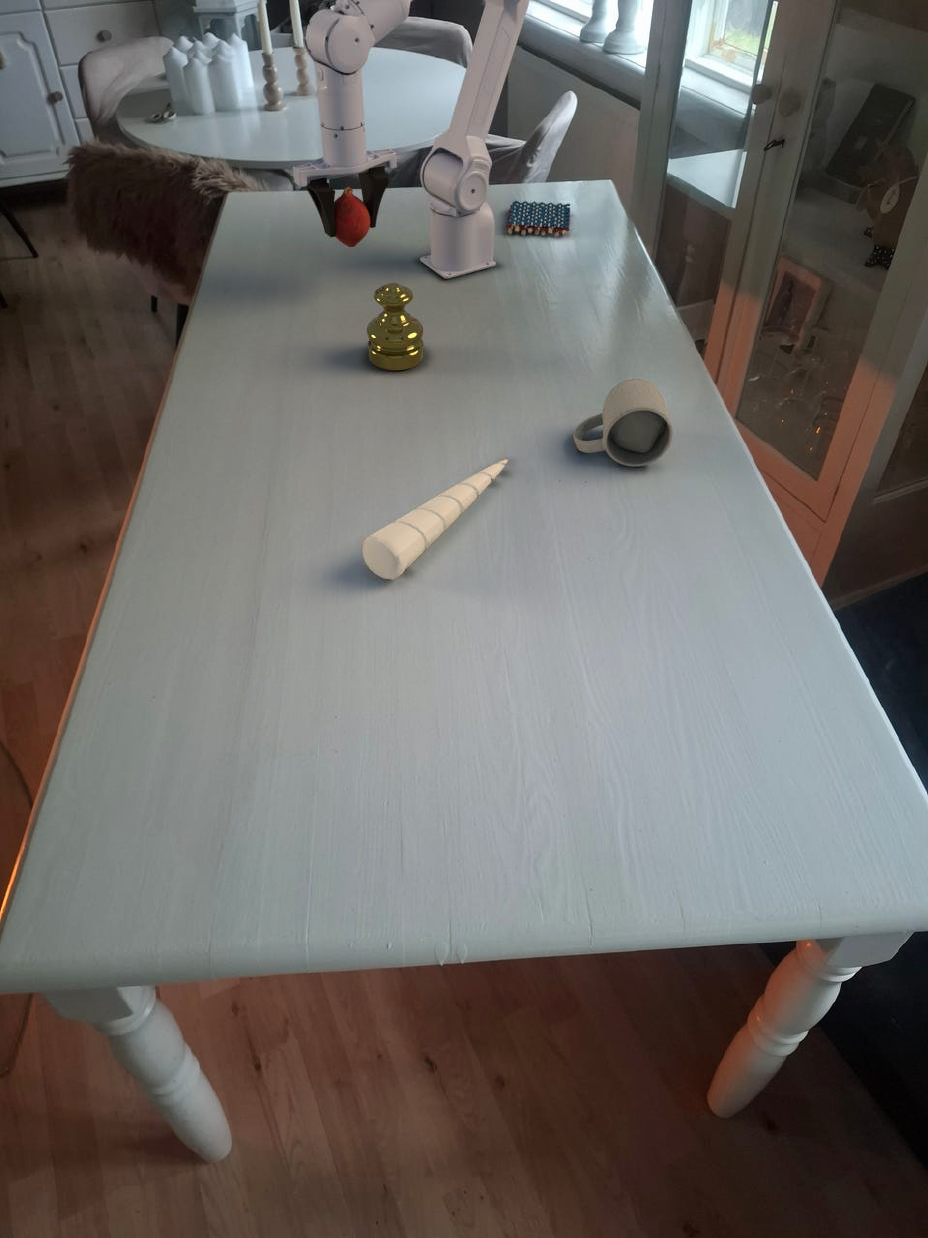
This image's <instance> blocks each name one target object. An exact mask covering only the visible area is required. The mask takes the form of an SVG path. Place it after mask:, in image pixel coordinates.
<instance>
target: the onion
mask: <svg viewBox="0 0 928 1238" xmlns="http://www.w3.org/2000/svg"><path fill="white" fill-rule="evenodd" d="M353 191H354V190H353V188H351V186H348V187H345V188H344V189H343V192H342V194H341V195H339V197H337V198H335V199H334V219H335V228H336V236H335V237H334V238H335V239H337V240H338V241H339V242H340V243H341V244H343V245H345V246H347V247H348V248H354V247H355V248H356V246H357V245H358V244H359V243H360V242H361V241H362V240H364V238H365V237H366V236H367V235H368V233H369V231H370V229H371V227H370V216H369V212H368V209H367V207H366V205H365V204H364V203H363V200H362V199H360V198H359V197H357V196H356V195H354V194H353Z"/></svg>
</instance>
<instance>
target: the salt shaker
mask: <svg viewBox="0 0 928 1238" xmlns="http://www.w3.org/2000/svg"><path fill="white" fill-rule="evenodd" d="M413 298H414V293H413V291H412V289H410V288H409V287H408V286H405V285H403V284H399V283H397V282H389V283H387V284H384V285H382V286H380V287H378V288H376V290H375V291H374V292H373V299H374V301H375V302H376V303H377V304H378V305H381V307H382V308H383V311H382V312H380V313H378V315H377V316H376V317H374V318H373V319H371V320H370V321H369V323H368V324H367V327H366V335H367V338H368V341H367V347H368V358H369V361H370V362H371V363H372V365H373V366H375V367H377V368H379V369H382V370H385V371H394V372H395V371H396V372H397V371H404V370H410V369H412V368H414V367H417V366H418V365H419V364H420V363H421V362H422V360H423V359H424V340H423V336H424V325H422V323H421V322H420V320H419V319H418V318H416V317H414V316H412V315H411V314H410V313H408V312H407V310H405V308H406V306H407V305H408V304H409V303H410V302H411V301H413Z"/></svg>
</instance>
